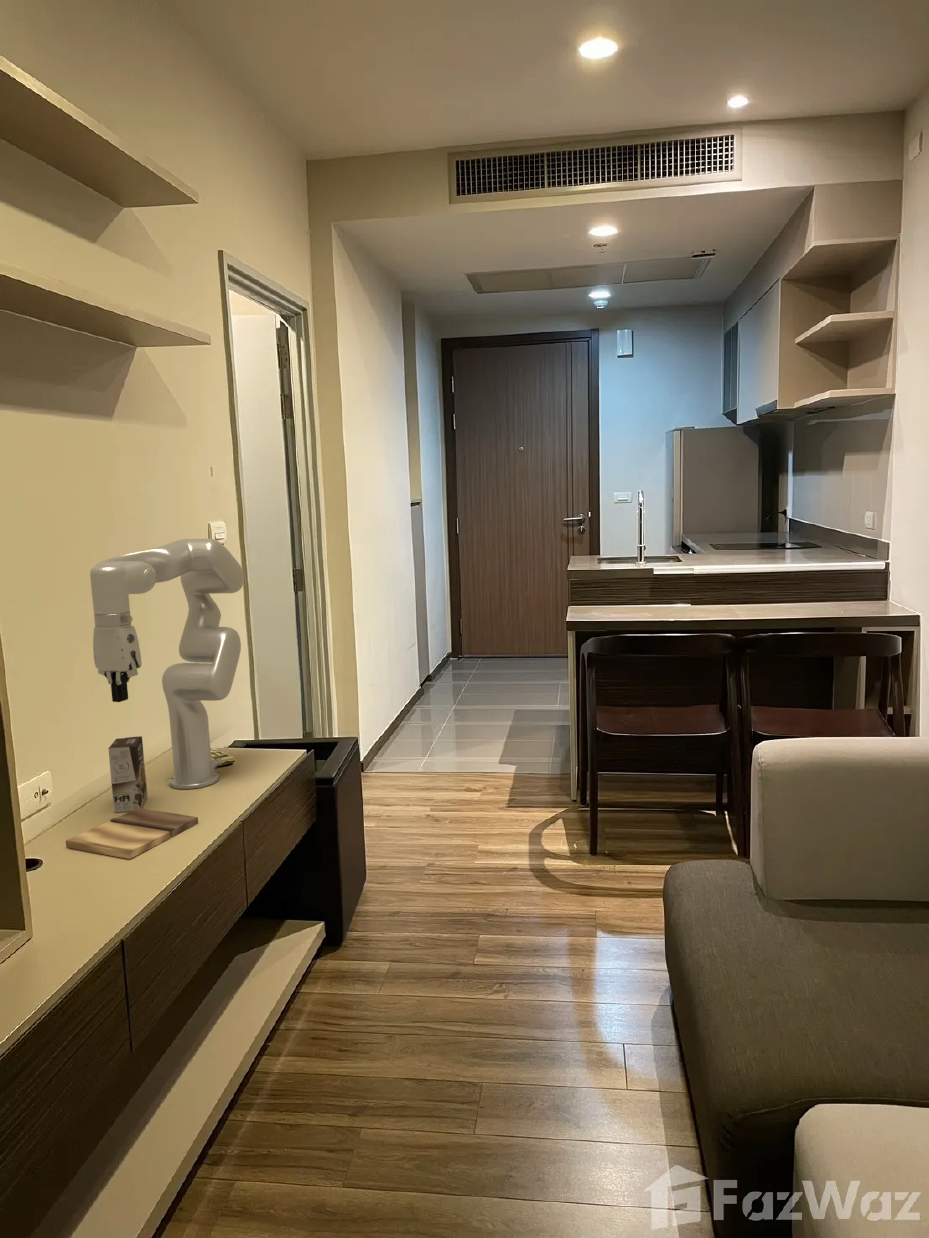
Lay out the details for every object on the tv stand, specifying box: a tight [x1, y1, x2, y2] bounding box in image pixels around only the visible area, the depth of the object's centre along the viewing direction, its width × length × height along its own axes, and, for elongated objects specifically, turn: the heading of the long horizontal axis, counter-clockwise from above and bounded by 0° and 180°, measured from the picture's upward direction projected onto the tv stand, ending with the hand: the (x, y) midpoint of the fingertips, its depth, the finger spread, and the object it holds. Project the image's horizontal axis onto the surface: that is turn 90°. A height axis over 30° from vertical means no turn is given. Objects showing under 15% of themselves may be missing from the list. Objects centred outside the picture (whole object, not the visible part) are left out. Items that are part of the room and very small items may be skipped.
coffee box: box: [107, 736, 148, 813], centre depth 212 cm, size 9×6×16 cm
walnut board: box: [109, 807, 199, 838], centre depth 200 cm, size 8×18×2 cm, turn 66°
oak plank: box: [65, 821, 171, 860], centre depth 190 cm, size 12×18×2 cm, turn 66°
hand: (120, 700), depth 198 cm, fingers closed
